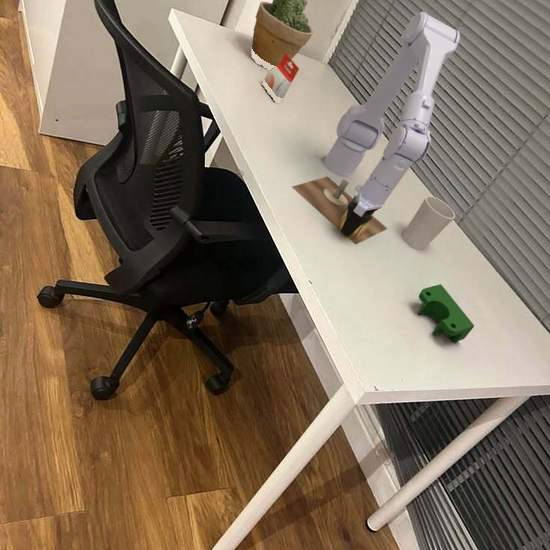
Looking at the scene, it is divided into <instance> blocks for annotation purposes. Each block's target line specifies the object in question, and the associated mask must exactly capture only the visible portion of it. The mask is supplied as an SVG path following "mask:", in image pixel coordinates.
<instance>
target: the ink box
mask: <svg viewBox="0 0 550 550" xmlns="http://www.w3.org/2000/svg"><path fill="white" fill-rule="evenodd" d="M287 61H289V63H291V66H292V67H291V66H290V65H289V63H288V64H287ZM299 70H300V68H299V67H298V66H297V64H296V63H295V62H294V61H293V59H292V60H291V59H290V58H289V56H288V55H287V54H286V53H284V56H283V58H282V60H281V62H280V64H279V65H278V66H276V67H274V68H272V69H271V70H270V71H269V70H268V71H267V74H266V75H265V77H264V80H265V82H266V83H267V84H268V86H269V87H270V88H271V89H272V91H273V92H274V93H275V95H276V96H277V97H280V98H283V99H284V98H285V96H286V94H287V93H288V91H289V89H290V87H291V86H292V84H293V81H294V80H295V78H296V76H297V73H298V72H299ZM264 80H263V81H264Z"/></svg>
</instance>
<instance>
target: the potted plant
mask: <svg viewBox="0 0 550 550" xmlns="http://www.w3.org/2000/svg"><path fill="white" fill-rule="evenodd" d="M259 3H260V4H259V5H258V10H257V12H256V14H255V23H254V27H253V36H252V43H251V47H252V49H253V51H254V52H255V54H257V55H258V56H259V57H260V58H261V59H263V60H264V61H266V62H268V63H270V64H271V65H274V66H278V65H279V64H280V62H281V60H282V58H283V56H284V53H286V54H287V55H288V56H289V58H290V59H291V60H292V61H293V59H294V57H296V55H297V54H298V53H299V52H300V51H301V49H302V48H303V46H305V45H306V44H307V43H308V41H309V40H310V38H312V35H313V34H314V30H313V29H312V27H311V26H310V25H309V22H310V20H309V19H308V17H307V14H305V13H304V11H305V8H306V6H307V5H308V0H272V2H269V1H268V2H267V1H261V2H259ZM289 63H290V62H289V61H287V64H288V65H289Z"/></svg>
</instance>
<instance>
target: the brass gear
mask: <svg viewBox="0 0 550 550" xmlns="http://www.w3.org/2000/svg"><path fill="white" fill-rule="evenodd" d="M347 211H348V209H347V210H346V211H345V213H344V214H343V216H342V217H341V219H340V220H339V222H338V224H339V226H340V227H339V229H340V230H342V227H343V224H344V222H345V220H346V217H347ZM369 224H370V222H369V221H368V222H366V223H364V224H362V225H361V226H360V227H359V228H358V229H356V231H355V232H354V233H352V234H351V235H350V236H351V237H354V238H355V239H357V238H358V236H359V237H360V236H361V235H362V234H363V232H364V231H365V229H366V228H367V227H368V225H369ZM339 229H338V230H339ZM340 230H339V231H340Z"/></svg>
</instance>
